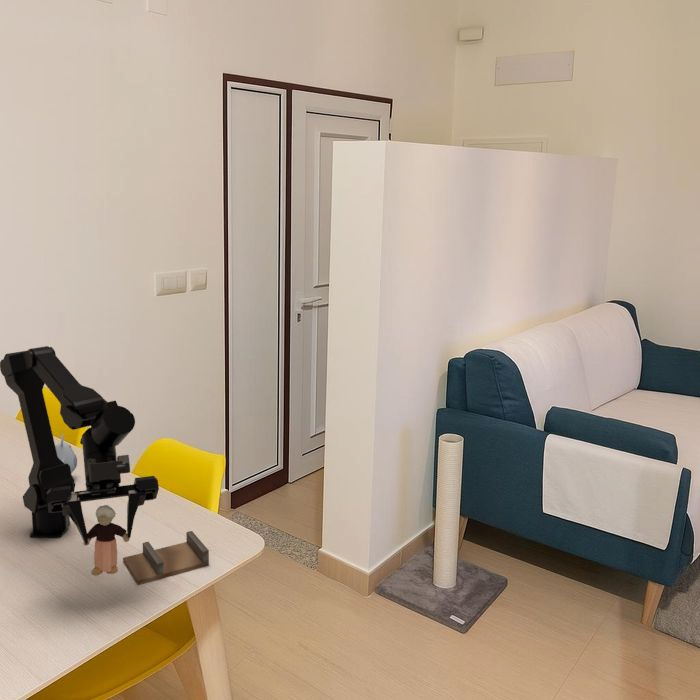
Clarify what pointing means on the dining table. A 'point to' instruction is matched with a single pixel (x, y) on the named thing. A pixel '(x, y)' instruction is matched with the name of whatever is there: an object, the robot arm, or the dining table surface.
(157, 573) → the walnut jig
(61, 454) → the toy figure
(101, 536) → the grandmother figurine
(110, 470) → the robot arm
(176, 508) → the dining table surface
